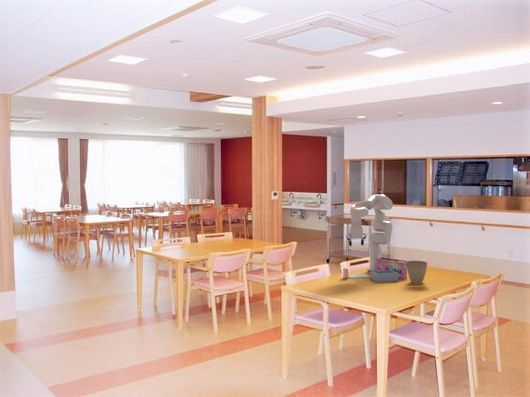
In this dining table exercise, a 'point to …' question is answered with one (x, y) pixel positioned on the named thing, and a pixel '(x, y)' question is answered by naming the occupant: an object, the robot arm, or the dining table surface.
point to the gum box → (393, 266)
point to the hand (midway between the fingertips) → (356, 245)
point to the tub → (384, 276)
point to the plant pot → (416, 271)
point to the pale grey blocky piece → (353, 275)
